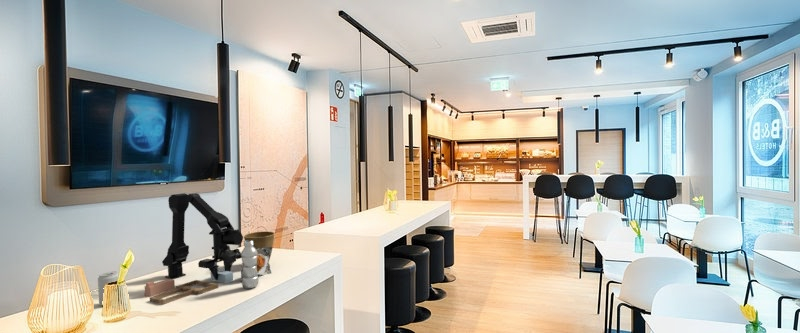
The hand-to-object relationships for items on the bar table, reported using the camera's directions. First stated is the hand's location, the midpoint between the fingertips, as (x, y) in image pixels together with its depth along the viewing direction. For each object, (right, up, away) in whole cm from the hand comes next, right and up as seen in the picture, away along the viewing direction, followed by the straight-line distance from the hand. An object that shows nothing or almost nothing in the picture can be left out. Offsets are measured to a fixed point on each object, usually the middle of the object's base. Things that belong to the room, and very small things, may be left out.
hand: (221, 277), depth 172 cm
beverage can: (-32, -3, -25) cm, 41 cm away
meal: (+16, -1, +2) cm, 16 cm away
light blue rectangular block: (0, -1, 0) cm, 1 cm away
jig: (-8, -2, -16) cm, 18 cm away
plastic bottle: (+18, -1, -12) cm, 21 cm away
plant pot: (+9, 0, +24) cm, 25 cm away
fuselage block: (-20, -2, -13) cm, 24 cm away
